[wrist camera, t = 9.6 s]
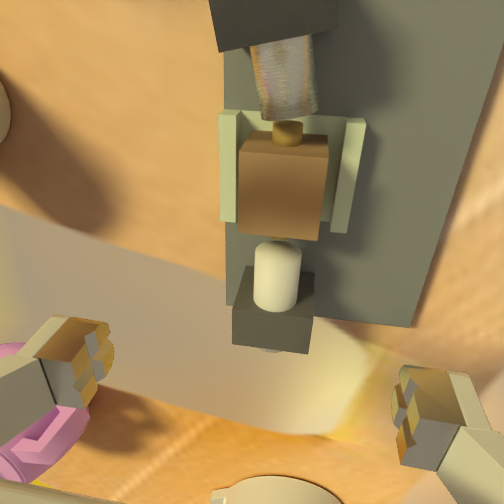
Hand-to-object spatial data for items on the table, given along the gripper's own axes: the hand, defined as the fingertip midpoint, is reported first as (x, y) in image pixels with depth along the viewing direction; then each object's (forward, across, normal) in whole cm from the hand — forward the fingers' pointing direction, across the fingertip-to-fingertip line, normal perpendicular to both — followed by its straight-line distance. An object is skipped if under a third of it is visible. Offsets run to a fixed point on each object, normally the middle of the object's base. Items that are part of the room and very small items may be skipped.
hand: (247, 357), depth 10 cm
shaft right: (+15, +1, -8) cm, 17 cm away
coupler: (+15, 0, 0) cm, 15 cm away
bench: (+17, -3, 0) cm, 17 cm away
